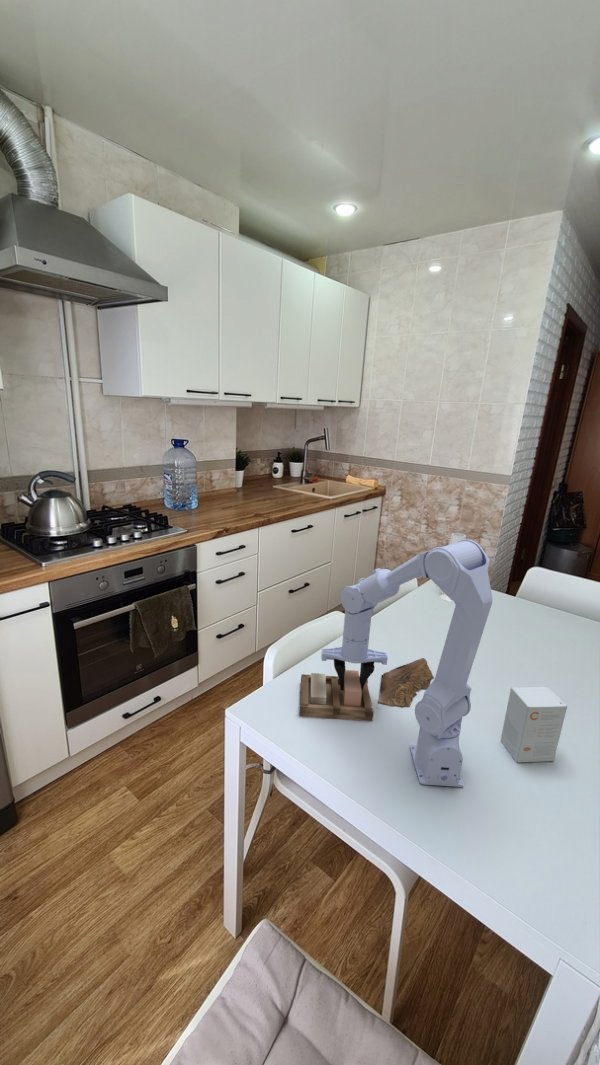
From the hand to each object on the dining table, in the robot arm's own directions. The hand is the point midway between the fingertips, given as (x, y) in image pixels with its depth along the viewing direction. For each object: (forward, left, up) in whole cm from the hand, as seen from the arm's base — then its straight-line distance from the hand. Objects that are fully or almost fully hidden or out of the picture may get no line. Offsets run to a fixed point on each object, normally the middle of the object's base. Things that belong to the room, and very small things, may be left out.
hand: (351, 688), depth 102 cm
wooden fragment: (+10, -15, -4) cm, 19 cm away
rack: (0, +3, -4) cm, 5 cm away
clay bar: (0, 0, -3) cm, 3 cm away
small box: (-12, -35, -4) cm, 37 cm away
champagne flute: (+63, -41, -4) cm, 75 cm away
